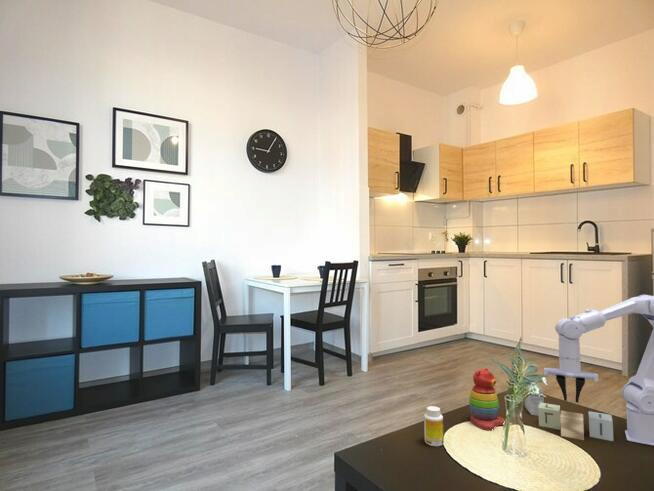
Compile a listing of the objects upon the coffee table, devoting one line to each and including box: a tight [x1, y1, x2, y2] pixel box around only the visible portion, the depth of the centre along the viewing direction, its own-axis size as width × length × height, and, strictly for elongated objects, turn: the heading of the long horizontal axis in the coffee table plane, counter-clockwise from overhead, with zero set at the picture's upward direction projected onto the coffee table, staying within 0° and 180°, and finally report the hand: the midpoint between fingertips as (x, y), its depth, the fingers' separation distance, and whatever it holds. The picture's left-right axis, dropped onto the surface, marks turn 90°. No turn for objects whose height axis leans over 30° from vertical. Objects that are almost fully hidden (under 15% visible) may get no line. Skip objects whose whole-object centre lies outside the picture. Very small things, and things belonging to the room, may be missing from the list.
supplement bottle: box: [423, 405, 444, 447], centre depth 118 cm, size 6×6×10 cm
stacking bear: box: [468, 367, 506, 431], centre depth 133 cm, size 11×10×18 cm
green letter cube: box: [538, 402, 561, 431], centre depth 131 cm, size 6×6×6 cm
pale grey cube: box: [588, 410, 614, 442], centre depth 122 cm, size 6×6×6 cm
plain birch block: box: [560, 410, 585, 441], centre depth 123 cm, size 6×6×6 cm
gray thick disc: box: [524, 389, 545, 417], centre depth 142 cm, size 8×4×9 cm, turn 168°
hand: (571, 400), depth 124 cm, fingers open, 2 cm apart
